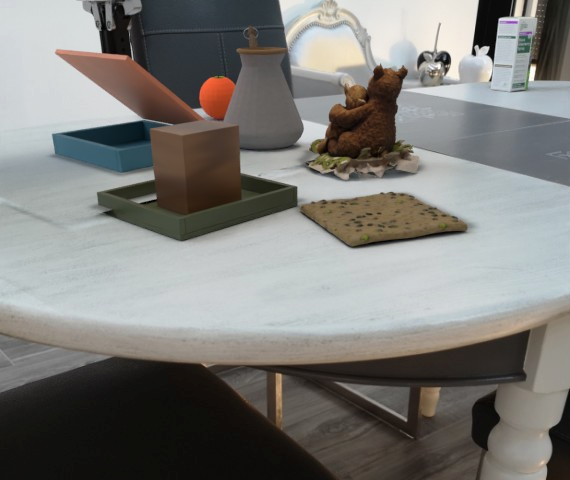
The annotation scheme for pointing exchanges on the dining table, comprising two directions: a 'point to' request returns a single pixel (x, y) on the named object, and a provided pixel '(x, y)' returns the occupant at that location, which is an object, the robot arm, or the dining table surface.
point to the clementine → (216, 96)
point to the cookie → (380, 218)
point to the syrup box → (513, 53)
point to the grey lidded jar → (263, 100)
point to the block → (196, 165)
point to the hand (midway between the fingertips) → (118, 65)
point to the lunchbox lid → (131, 86)
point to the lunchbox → (110, 145)
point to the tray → (255, 203)
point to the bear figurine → (365, 131)
